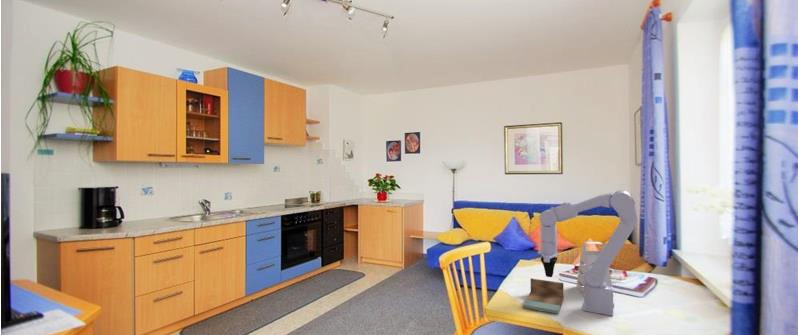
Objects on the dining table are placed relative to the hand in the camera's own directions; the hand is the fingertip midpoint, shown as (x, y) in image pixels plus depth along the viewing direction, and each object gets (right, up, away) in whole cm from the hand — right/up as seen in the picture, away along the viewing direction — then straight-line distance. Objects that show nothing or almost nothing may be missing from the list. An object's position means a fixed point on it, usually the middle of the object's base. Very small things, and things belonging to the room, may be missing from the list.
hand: (549, 276), depth 139 cm
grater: (+22, -9, +9) cm, 26 cm away
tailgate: (-5, -8, -5) cm, 11 cm away
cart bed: (-2, -9, -1) cm, 10 cm away
